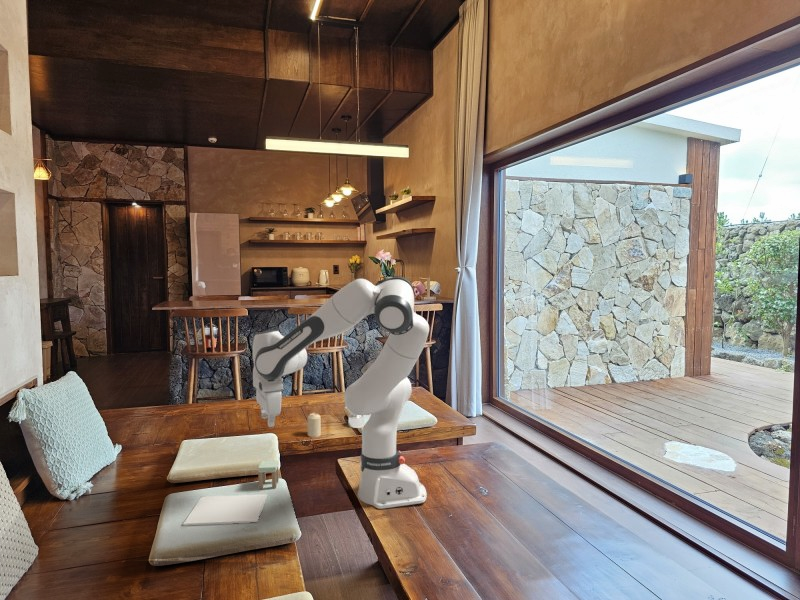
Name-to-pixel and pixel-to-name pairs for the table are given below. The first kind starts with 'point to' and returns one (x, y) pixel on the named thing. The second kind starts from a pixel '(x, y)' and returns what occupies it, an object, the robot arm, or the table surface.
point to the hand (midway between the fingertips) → (267, 422)
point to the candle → (314, 425)
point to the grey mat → (226, 510)
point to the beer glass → (356, 421)
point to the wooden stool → (268, 467)
